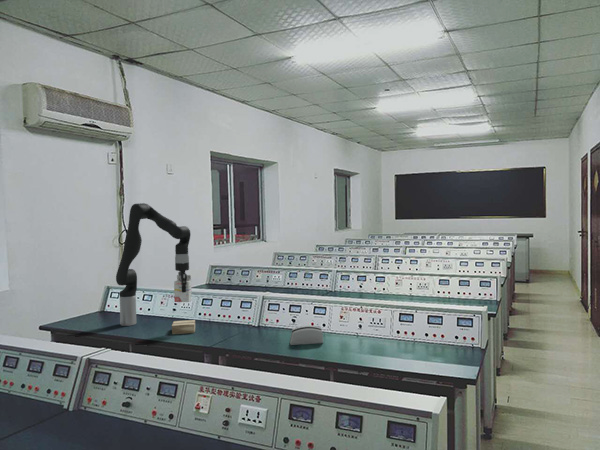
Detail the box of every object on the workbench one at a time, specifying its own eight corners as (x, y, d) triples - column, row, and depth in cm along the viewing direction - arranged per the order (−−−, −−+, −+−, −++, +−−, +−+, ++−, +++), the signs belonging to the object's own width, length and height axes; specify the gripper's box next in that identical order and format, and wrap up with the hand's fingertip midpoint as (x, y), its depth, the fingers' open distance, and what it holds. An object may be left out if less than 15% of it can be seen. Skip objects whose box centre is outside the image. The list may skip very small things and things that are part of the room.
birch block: (174, 329, 279) (173, 321, 279) (195, 328, 281) (195, 319, 281) (172, 334, 267) (171, 325, 267) (194, 333, 269) (194, 324, 269)
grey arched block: (321, 340, 247) (322, 323, 244) (323, 345, 243) (324, 328, 239) (289, 342, 245) (289, 325, 242) (290, 347, 241) (290, 330, 237)
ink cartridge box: (174, 302, 271) (173, 276, 271) (177, 300, 276) (176, 274, 276) (189, 302, 271) (188, 275, 270) (191, 300, 276) (191, 274, 275)
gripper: (173, 261, 278) (174, 290, 279) (177, 263, 265) (177, 293, 265) (186, 260, 281) (187, 289, 281) (191, 262, 268) (191, 292, 268)
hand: (182, 291), depth 273 cm, fingers closed on ink cartridge box, 6 cm apart
